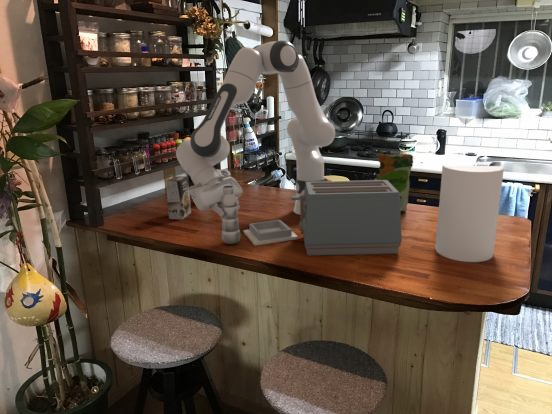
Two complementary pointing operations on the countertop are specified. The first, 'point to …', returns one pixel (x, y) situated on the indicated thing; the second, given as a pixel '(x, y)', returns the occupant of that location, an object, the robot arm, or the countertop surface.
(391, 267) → the countertop surface
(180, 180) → the coffee box
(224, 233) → the plastic bottle
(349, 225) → the toaster
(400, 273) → the countertop surface
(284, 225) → the bottle holder
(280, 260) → the countertop surface
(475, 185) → the cylinder
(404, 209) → the pouch
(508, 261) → the countertop surface
